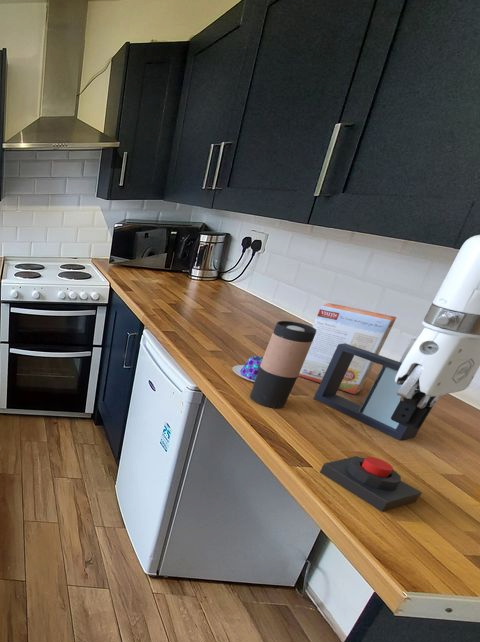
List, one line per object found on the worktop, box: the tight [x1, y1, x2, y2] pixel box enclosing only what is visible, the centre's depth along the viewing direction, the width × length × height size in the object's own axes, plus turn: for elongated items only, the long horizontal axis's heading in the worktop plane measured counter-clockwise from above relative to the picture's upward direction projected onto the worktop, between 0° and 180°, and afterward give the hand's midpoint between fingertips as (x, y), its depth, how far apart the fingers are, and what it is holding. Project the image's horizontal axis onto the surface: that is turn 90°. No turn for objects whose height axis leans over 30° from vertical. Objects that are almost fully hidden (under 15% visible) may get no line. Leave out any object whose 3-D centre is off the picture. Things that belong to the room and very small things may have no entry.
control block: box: [319, 455, 423, 513], centre depth 72 cm, size 10×9×4 cm
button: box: [361, 456, 394, 478], centre depth 71 cm, size 4×4×2 cm
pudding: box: [232, 355, 264, 383], centre depth 111 cm, size 12×12×5 cm
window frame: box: [313, 343, 435, 441], centre depth 92 cm, size 18×5×15 cm, turn 17°
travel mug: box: [249, 320, 316, 409], centre depth 96 cm, size 8×8×20 cm
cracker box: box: [298, 302, 397, 395], centre depth 107 cm, size 14×6×21 cm, turn 34°
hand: (404, 423), depth 67 cm, fingers closed
